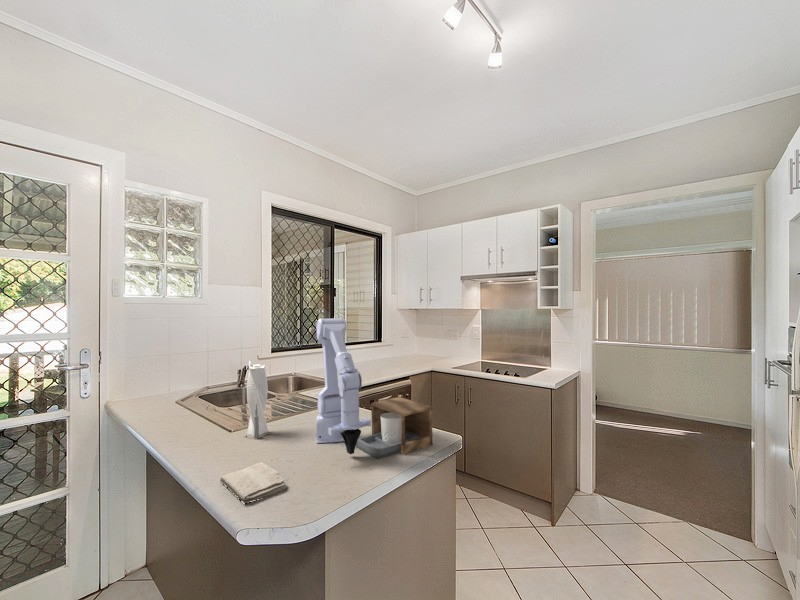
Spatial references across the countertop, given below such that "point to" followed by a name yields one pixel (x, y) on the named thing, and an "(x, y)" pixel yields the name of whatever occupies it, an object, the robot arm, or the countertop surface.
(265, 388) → the skyscraper
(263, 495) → the washcloth
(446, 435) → the countertop surface
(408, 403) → the shelf
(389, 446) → the tray
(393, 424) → the white cup
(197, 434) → the countertop surface
